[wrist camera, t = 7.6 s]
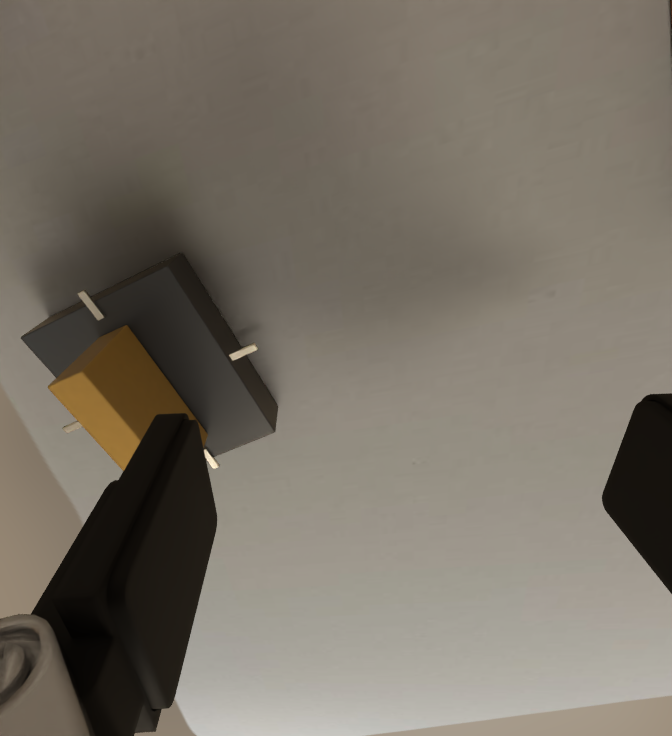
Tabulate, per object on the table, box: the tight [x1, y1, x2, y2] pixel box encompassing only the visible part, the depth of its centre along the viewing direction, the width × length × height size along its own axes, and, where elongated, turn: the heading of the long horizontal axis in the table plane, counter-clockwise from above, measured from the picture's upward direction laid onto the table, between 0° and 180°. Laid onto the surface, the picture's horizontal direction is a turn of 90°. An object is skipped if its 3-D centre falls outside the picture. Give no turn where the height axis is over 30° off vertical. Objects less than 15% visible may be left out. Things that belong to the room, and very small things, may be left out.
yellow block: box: [48, 325, 208, 471], centre depth 19 cm, size 7×2×5 cm, turn 24°
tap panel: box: [21, 253, 278, 469], centre depth 22 cm, size 11×11×3 cm
